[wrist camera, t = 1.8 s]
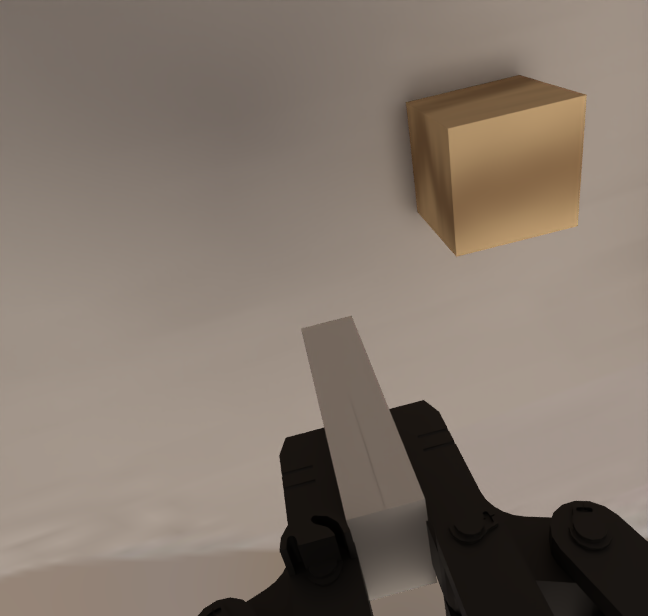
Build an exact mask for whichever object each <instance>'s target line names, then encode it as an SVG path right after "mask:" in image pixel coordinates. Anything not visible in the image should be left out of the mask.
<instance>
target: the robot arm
mask: <svg viewBox="0 0 648 616" xmlns="http://www.w3.org/2000/svg"><path fill="white" fill-rule="evenodd" d="M301 330H302V335H303V339H304V343H305V347H306V352H307V356H308V360H309V364H310V369H311V373H312V377H313V381H314V386H315V390H316V394H317V398H318V403H319V407H320V411H321V415H322V420H323V424H324V428H321V429H317V430H313V431H310V432H306V433H302V434H298V435H294V436H291V437H287V438H285V441H284V444H283V447H282V450H281V452H280V455H279V456H280V464H281V472H282V481H283V488H284V497H285V505H286V513H287V521H288V526H287V527H286V529H285V531H284V533H283V535H282V537H281V542H280V553H281V555H282V558H283V560H284V563H285V566H286V568H285V570H284V572H283V574H282V575H281V576H280V577H279V578H278V579H277V581H276V582H275V583H273V584H272V585H271V586H270V587H268V588H267V589H266V590H264V591H263V592H261V593H260V594H258V595H256V596H255V597H253V598H252V599H250V600H249V601H247V602H245V601H244V600H241V599H236V598H226V599H222V600H217V601H216V602H214V603H212V604H211V605H209V606H207V607H206V608H204V609H203V610H202V612H201V613H200V614H199V615H198V616H373V612H372V609H371V604H370V601H372V600H375V599H379V598H382V597H386V596H390V595H393V594H397V593H400V592H404V591H408V590H411V589H415V588H419V587H422V586H426V585H429V584H433V583H436V582H437V580H436V576H437V579H438V581H439V584H440V587H441V589H442V592H443V595H444V602H445V609H446V616H648V541H646V540H645V539H644V538H643V537H642V536H641V535H640V534H639V533H637V532H636V531H635V530H634V529H633V528H632V527H631V526H630V525H628V524H627V523H626V522H625V521H624V520H623V519H622V518H621V517H620V516H618V515H617V514H616V513H614V512H613V511H611V510H610V509H608V508H607V507H605V506H602V505H599V504H596V503H593V502H590V501H573V502H570V503H567V504H563V505H562V506H560V507H559V508H558V509H557V510H556V511H555V512H554V513H553V516H552V518H549V517H524V516H516V515H512V514H509V513H506V512H503V511H501V510H499V509H498V508H496V507H494V506H493V505H492V504H490V503H489V502H488V501H487V500H486V499H485V498H484V496H483V495H482V493H481V492H480V490H479V488H478V486H477V484H476V482H475V480H474V478H473V476H472V474H471V473H470V471H469V469H468V467H467V465H466V463H465V461H464V459H463V457H462V455H461V453H460V451H459V449H458V447H457V445H456V444H455V443H454V440H453V438H452V436H451V434H450V432H449V431H448V429H447V426H446V424H445V422H444V420H443V418H442V417H441V415H440V413H439V411H437V410H436V409H435V408H433V407H432V406H431V405H430V404H428V403H427V402H426V401H424V400H422V401H418V402H415V403H411V404H407V405H403V406H399V407H396V408H392V409H389V408H388V405H387V403H386V400H385V398H384V395H383V393H382V390H381V388H380V385H379V383H378V380H377V378H376V375H375V373H374V370H373V368H372V365H371V363H370V360H369V358H368V355H367V353H366V350H365V348H364V345H363V343H362V340H361V338H360V335H359V333H358V331H357V328H356V326H355V323H354V321H353V318H352V316H349V317H345V318H341V319H337V320H333V321H329V322H325V323H321V324H317V325H313V326H310V327H306V328H302V329H301Z"/></svg>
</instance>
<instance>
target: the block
mask: <svg viewBox="0 0 648 616" xmlns="http://www.w3.org/2000/svg"><path fill="white" fill-rule="evenodd" d="M586 96H587V95H585V94H581V93H578V92H575V91H571V90H568V89H565V88H561V87H558V86H555V85H551V84H548V83H544V82H541V81H538V80H534V79H531V78H528V77H524V76H521V75H518V76H514V77H510V78H505V79H501V80H497V81H493V82H489V83H485V84H480V85H476V86H472V87H468V88H464V89H460V90H455V91H451V92H447V93H443V94H439V95H435V96H431V97H426V98H422V99H418V100H414V101H410V102H406V106H407V116H408V125H409V135H410V144H411V154H412V164H413V173H414V183H415V192H416V202H417V211H418V213H419V214H420V215H421V216H422V218H423V219H424V220H425V221H426V222H427V223H428V224H429V226H430V227H431V228H432V229H433V230H434V231H435V233H436V234H437V235H438V236H439V237H440V238H441V239H442V241H443V242H444V243H445V244H446V245H447V246H448V247H449V249H450V250H451V251H452V252H453V253H454V254H455V256H456V257H457V256H461V255H464V254H468V253H472V252H476V251H480V250H484V249H488V248H492V247H496V246H500V245H504V244H508V243H512V242H516V241H520V240H524V239H528V238H532V237H536V236H540V235H544V234H548V233H552V232H556V231H560V230H564V229H568V228H572V227H575V226H578V212H579V198H580V183H581V169H582V154H583V139H584V125H585V110H586Z"/></svg>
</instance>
